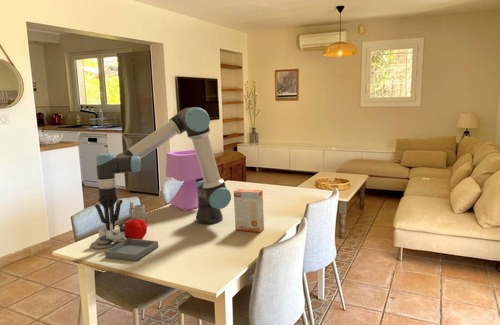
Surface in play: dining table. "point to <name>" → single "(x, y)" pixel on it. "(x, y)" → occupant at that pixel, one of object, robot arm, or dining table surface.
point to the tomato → (135, 229)
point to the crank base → (104, 243)
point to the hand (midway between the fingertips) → (111, 236)
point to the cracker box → (249, 210)
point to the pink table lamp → (184, 177)
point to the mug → (137, 212)
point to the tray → (131, 249)
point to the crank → (117, 233)
